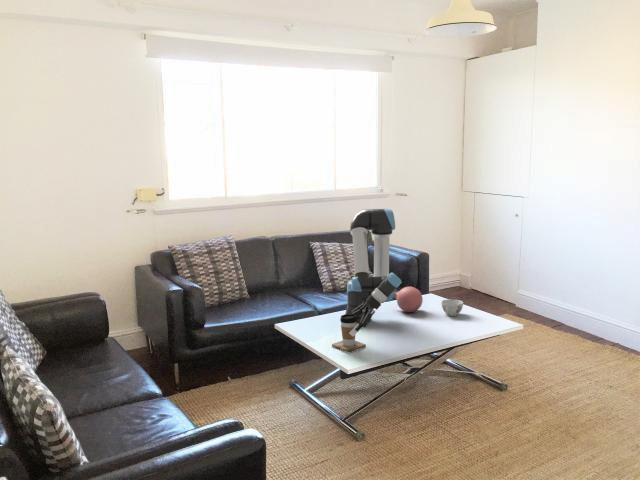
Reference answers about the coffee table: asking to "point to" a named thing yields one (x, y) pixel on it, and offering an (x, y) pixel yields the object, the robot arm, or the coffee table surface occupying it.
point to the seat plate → (349, 348)
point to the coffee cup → (348, 328)
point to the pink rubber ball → (409, 299)
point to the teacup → (452, 307)
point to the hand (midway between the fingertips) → (347, 330)
